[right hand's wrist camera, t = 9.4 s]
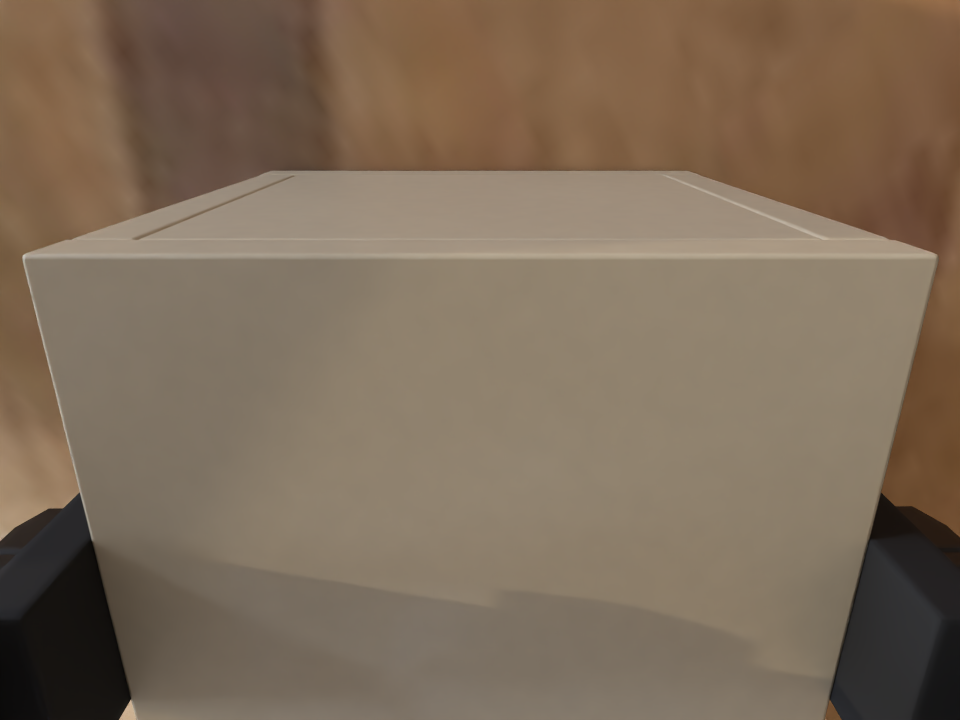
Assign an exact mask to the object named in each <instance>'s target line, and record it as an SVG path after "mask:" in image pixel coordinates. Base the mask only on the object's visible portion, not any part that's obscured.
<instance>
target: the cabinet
mask: <svg viewBox="0 0 960 720" xmlns="http://www.w3.org/2000/svg"><path fill="white" fill-rule="evenodd" d="M22 260H23V264H24V268H25V272H26V276H27V281H28V285H29V289H30V293H31V297H32V301H33V305H34V309H35V313H36V317H37V321H38V325H39V329H40V333H41V337H42V341H43V345H44V349H45V353H46V357H47V361H48V365H49V369H50V373H51V377H52V381H53V386H54V390H55V394H56V398H57V402H58V406H59V410H60V414H61V418H62V422H63V426H64V430H65V434H66V438H67V442H68V446H69V450H70V454H71V458H72V462H73V466H74V470H75V474H76V478H77V482H78V486H79V491H80V495H81V499H82V503H83V507H84V511H85V515H86V519H87V523H88V527H89V531H90V535H91V539H92V543H93V547H94V551H95V555H96V559H97V563H98V567H99V571H100V575H101V579H102V583H103V587H104V591H105V596H106V600H107V604H108V608H109V612H110V616H111V620H112V624H113V628H114V632H115V636H116V640H117V644H118V648H119V652H120V656H121V660H122V664H123V668H124V672H125V676H126V680H127V684H128V688H129V692H130V696H131V701H132V705H133V709H134V713H135V717H136V720H824V719H825V715H826V711H827V707H828V703H829V699H830V695H831V691H832V687H833V683H834V679H835V675H836V671H837V667H838V663H839V659H840V655H841V651H842V647H843V643H844V639H845V635H846V631H847V627H848V623H849V619H850V615H851V611H852V607H853V603H854V599H855V595H856V591H857V587H858V583H859V579H860V574H861V570H862V566H863V562H864V558H865V554H866V550H867V546H868V542H869V538H870V534H871V530H872V526H873V522H874V518H875V514H876V510H877V506H878V502H879V498H880V494H881V490H882V486H883V482H884V478H885V474H886V470H887V466H888V462H889V458H890V454H891V450H892V446H893V442H894V438H895V434H896V430H897V426H898V422H899V418H900V414H901V410H902V405H903V401H904V397H905V393H906V389H907V385H908V381H909V377H910V373H911V369H912V365H913V361H914V357H915V353H916V349H917V345H918V341H919V337H920V333H921V329H922V325H923V321H924V317H925V313H926V309H927V305H928V301H929V297H930V293H931V289H932V285H933V281H934V277H935V273H936V269H937V265H938V261H939V258H938V255H937V254H935V253H932V252H929V251H926V250H923V249H920V248H917V247H914V246H911V245H908V244H905V243H902V242H899V241H896V240H890V239H887V238H885V237H882V236H879V235H876V234H873V233H870V232H867V231H864V230H861V229H858V228H855V227H852V226H849V225H847V224H844V223H841V222H838V221H835V220H832V219H829V218H826V217H823V216H820V215H817V214H814V213H811V212H808V211H805V210H802V209H799V208H796V207H793V206H790V205H787V204H784V203H781V202H778V201H775V200H772V199H769V198H766V197H763V196H760V195H757V194H754V193H751V192H748V191H745V190H742V189H739V188H736V187H733V186H730V185H727V184H724V183H721V182H718V181H715V180H712V179H709V178H706V177H703V176H700V175H699V174H696V173H693V172H690V171H270V172H267V173H264V174H261V175H260V176H257V177H254V178H251V179H248V180H245V181H242V182H239V183H236V184H233V185H230V186H227V187H224V188H221V189H218V190H215V191H213V192H210V193H207V194H204V195H201V196H198V197H195V198H192V199H189V200H186V201H183V202H180V203H177V204H174V205H171V206H168V207H165V208H162V209H159V210H156V211H153V212H150V213H147V214H144V215H141V216H138V217H135V218H132V219H129V220H126V221H123V222H121V223H118V224H115V225H112V226H109V227H106V228H103V229H100V230H97V231H94V232H91V233H88V234H85V235H82V236H79V237H76V238H74V239H72V240H64V241H61V242H58V243H55V244H52V245H49V246H46V247H44V248H41V249H38V250H35V251H32V252H29V253H26V254H24V255H23V259H22Z"/></svg>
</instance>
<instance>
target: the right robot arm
mask: <svg viewBox="0 0 960 720" xmlns="http://www.w3.org/2000/svg"><path fill="white" fill-rule="evenodd" d="M130 700H131V696H130V692H129V688H128V684H127V680H126V676H125V672H124V668H123V664H122V660H121V656H120V652H119V648H118V644H117V640H116V636H115V632H114V628H113V624H112V620H111V616H110V612H109V608H108V604H107V600H106V596H105V591H104V587H103V583H102V579H101V575H100V571H99V567H98V563H97V559H96V555H95V551H94V547H93V543H92V539H91V535H90V531H89V527H88V523H87V519H86V515H85V511H84V507H83V503H82V499H81V495H80V493H79V494H78V495H77V496H76V497H75V498H74V499H73V500H72V501H71V502H70V503H69V504H68V505H66V506H65V507H64V508H63V509H47V510H46V511H44V512H42V513H40V514H39V515H37V516H35V517H33V518H31V519H30V520H28V521H26V522H24V523H23V524H21V525H19V526H17V527H15V528H14V529H13V530H12V531H11V532H10V533H9V534H8V535H7V536H5V537H4V538H3V539H2V540H1V541H0V720H119V719H120V717H121V715H122V713H123V712H124V710H125V708H126V707H127V705H128V703H129V701H130ZM830 700H831V702H832V704H833V705H834V707H835V709H836V711H837V712H838V714H839V716H840V717H841V719H842V720H960V537H959V536H957V535H956V534H955V533H954V532H953V531H952V530H951V529H950V528H949V527H947V526H946V525H945V524H943V523H941V522H939V521H937V520H936V519H934V518H932V517H930V516H929V515H927V514H925V513H923V512H921V511H920V510H918V509H916V508H914V507H912V506H894V505H893V504H892V503H891V502H890V501H889V500H888V499H887V498H886V497H885V496H884V495H883V494H882V493H881V494H880V498H879V502H878V506H877V510H876V514H875V518H874V522H873V526H872V530H871V534H870V538H869V542H868V546H867V550H866V554H865V558H864V562H863V566H862V570H861V574H860V579H859V583H858V587H857V591H856V595H855V599H854V603H853V607H852V611H851V615H850V619H849V623H848V627H847V631H846V635H845V639H844V643H843V647H842V651H841V655H840V659H839V663H838V667H837V671H836V675H835V679H834V683H833V687H832V691H831V695H830Z"/></svg>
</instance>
